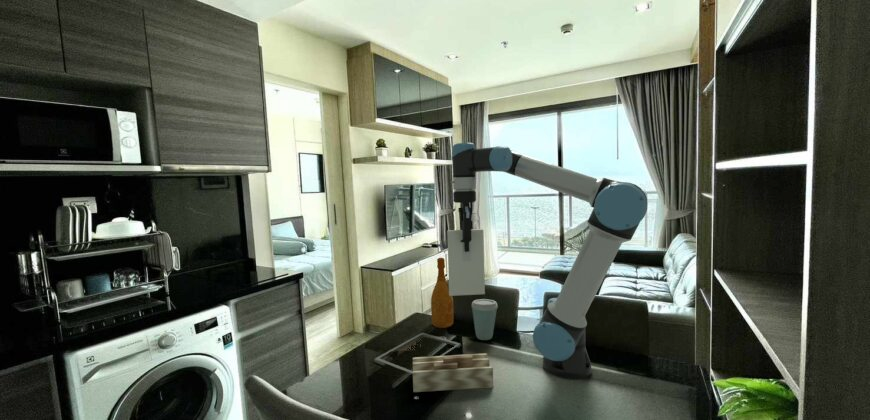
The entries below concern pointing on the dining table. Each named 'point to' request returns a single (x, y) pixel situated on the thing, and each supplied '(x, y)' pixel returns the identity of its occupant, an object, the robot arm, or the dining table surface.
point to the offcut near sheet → (460, 360)
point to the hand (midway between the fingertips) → (466, 260)
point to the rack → (451, 374)
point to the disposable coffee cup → (484, 317)
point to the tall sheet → (466, 264)
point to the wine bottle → (441, 299)
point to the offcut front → (445, 365)
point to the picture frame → (406, 344)
